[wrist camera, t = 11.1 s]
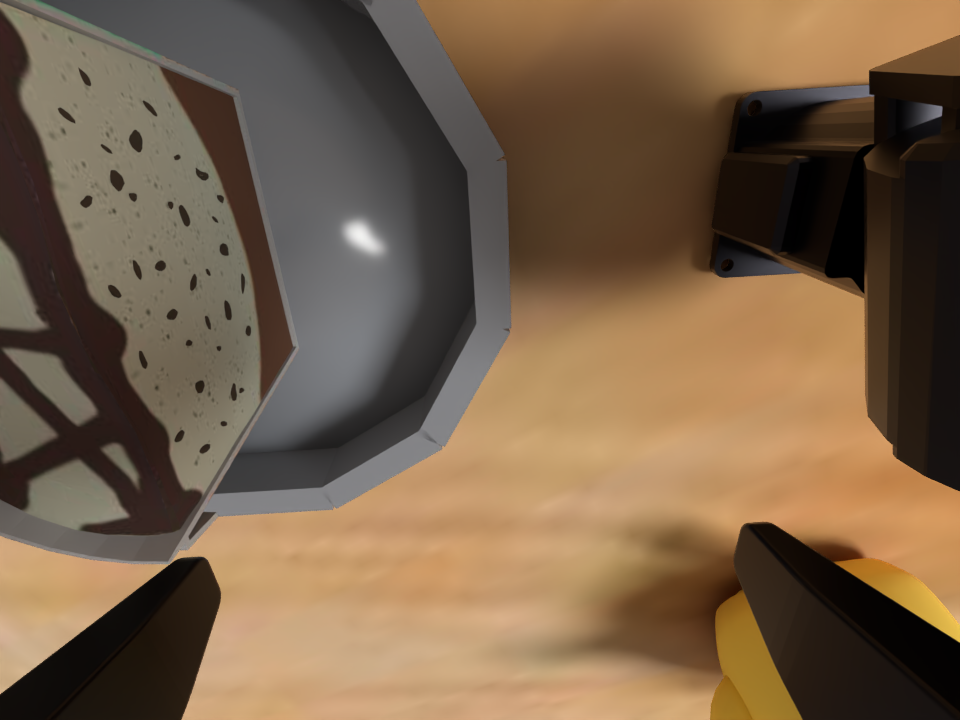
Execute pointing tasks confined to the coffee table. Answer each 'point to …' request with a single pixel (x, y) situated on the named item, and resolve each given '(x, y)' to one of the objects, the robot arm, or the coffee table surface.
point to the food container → (125, 291)
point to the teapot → (749, 667)
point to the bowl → (352, 230)
